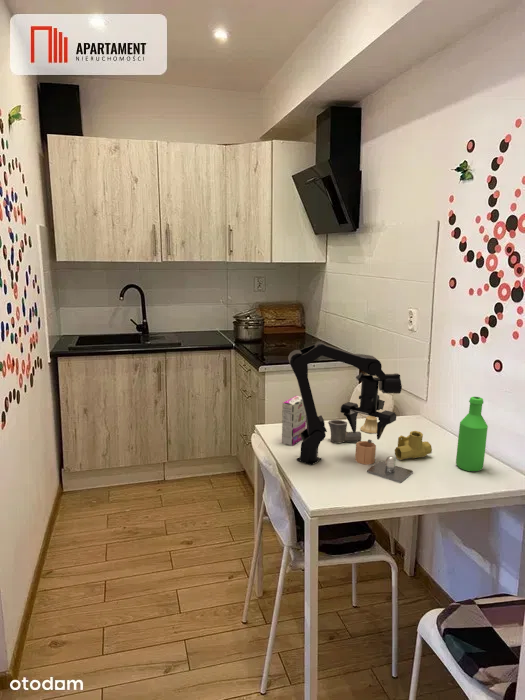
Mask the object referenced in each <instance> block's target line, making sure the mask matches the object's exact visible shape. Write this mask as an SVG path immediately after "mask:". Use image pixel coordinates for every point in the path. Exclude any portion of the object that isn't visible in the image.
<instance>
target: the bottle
mask: <svg viewBox="0 0 525 700" xmlns="http://www.w3.org/2000/svg"><path fill="white" fill-rule="evenodd" d="M468 402H469V407H468V409H469V410H468V413H467V414H466V415H465V416H464V418H462V419H461V421H460V422H459V428H458V429H459V430H458V437H457V447H456V448H457V449H456V458H455V464H456V466H457V467H458V469H459V468H460V469H461V470H463V471H467V472H470V471H476V472H479V471H481V470H483V469H484V462H485V457H486V456H485V455H486V445H487V438H488V428H489V426H488V424H487V423H486V421H485V419H484V417H483V416H482V412H483V404H484V399H483V398H482V397H479V396H471V397H469V400H468Z"/></svg>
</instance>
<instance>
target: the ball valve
mask: <svg viewBox="0 0 525 700" xmlns="http://www.w3.org/2000/svg"><path fill="white" fill-rule="evenodd" d="M423 437H424V434H423V432H421V431H418V430H412V431H411V430H410V432H409V435H407V436H404V435H400V436H398V440H397V447H395V449H394V456H395V457H396V458H395V459H397V460H399V461H402V460H407V459H412V460H413V459H418V458H425V457H427V455H430V454H432V452H433V448H432V444H431V443H430V442H429V441H423Z"/></svg>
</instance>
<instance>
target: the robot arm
mask: <svg viewBox="0 0 525 700" xmlns="http://www.w3.org/2000/svg"><path fill="white" fill-rule="evenodd" d="M322 356H323V357H325V358H327V359H331V360H335V361H338V362H340V363H344V364H347V365H350V366H353V367H355V368H357V369H358V370H360V371H361V372H360V373H359V374H358V375H357V376H355V379H356V380H357V381H358V382H361V384H360V385H361V388H360V394H359V396H358V400H360V401H359V402H360V403H355V402H351V401H347V402H345V403H343V404H342V405H341V406H340V411H339V412H340V413H342V414H343V416H345V418H346V420H347V422H348V423H349V425H350V428H351V430H352V431H351V432H353V433H356V432H357V418H358V414H362V415H365V416H374V417H376V418H377V433H376V438H377V440H380V439H381V437H382V434H383V432H384V431H385V428H386V427H387V426H388V425H390V424H392V423H394V422H396V421H397V414H396V412H394V411H390V410H384V406H385V403H386V402H385V401H386V400H383V399H380V395H379V391H381V392H382V394H394V395H396V394H401V392H402V388H403V386H402V380H401V375H400V374H399V373H385V372H384V371H383V369H382V366H383V365H382V363H381V361H380V360H379V359H377V358H376V357H375V356H374V355H369V354H360V353H359V354H358V353H354V352H350V351H346V350H344V349H341V348H338V347H335V346H332V345H329V344H325V343H324V342H323V341H322V342H321V341H318V342H316V343H314V344H312V345H309V346H305V347H303V348H302V349H301V348H300V349H293V350H292V351H291V352H290V353H289V355H288V356H287V357H288V363H289V365H290V367H291V369H292V371H293V373H294V375H295V377H296V381H297V385H298V388H299V392H300V396H301V397H302V401H303V405H304V409H305V412H306V429H305V430H304V431H303V432H302V433H301V434H300V435H301V439H302V440H301V444H300V456H299V457H297V458H296V461H298V462H301V463H304V464H307V465H310V466H311V465H315V464H316V463H319V462H320V461H322V457H319V447H320V444H321V442H323V440H325V439H326V434H327V432H328V430H327V428H326V426H325V425H326V424H325V419H324V418H323V415H318V412H317V408H316V405H315V401H314V397H313V393H312V389H311V384H310V381H309V380H310V379H309V372H308V371H309V368H308V366H309V365H308V364H311V363H313V362H314V361H316V360H317V359H319V358H320V357H322ZM374 376H376V377H374ZM358 404H359V405H358ZM380 410H384V411H382V412H380ZM372 413H373V414H372Z"/></svg>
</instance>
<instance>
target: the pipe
mask: <svg viewBox="0 0 525 700" xmlns="http://www.w3.org/2000/svg"><path fill="white" fill-rule="evenodd" d="M327 423H328V426H329V430H330V441H331V442H333V443H337V444H339V443H346V442H347V443H348V442H349V443H350V442H359V441H362V431H356V433H353V431H347V429H348V421H345V420H341V419H332V420H329V421H327Z"/></svg>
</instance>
